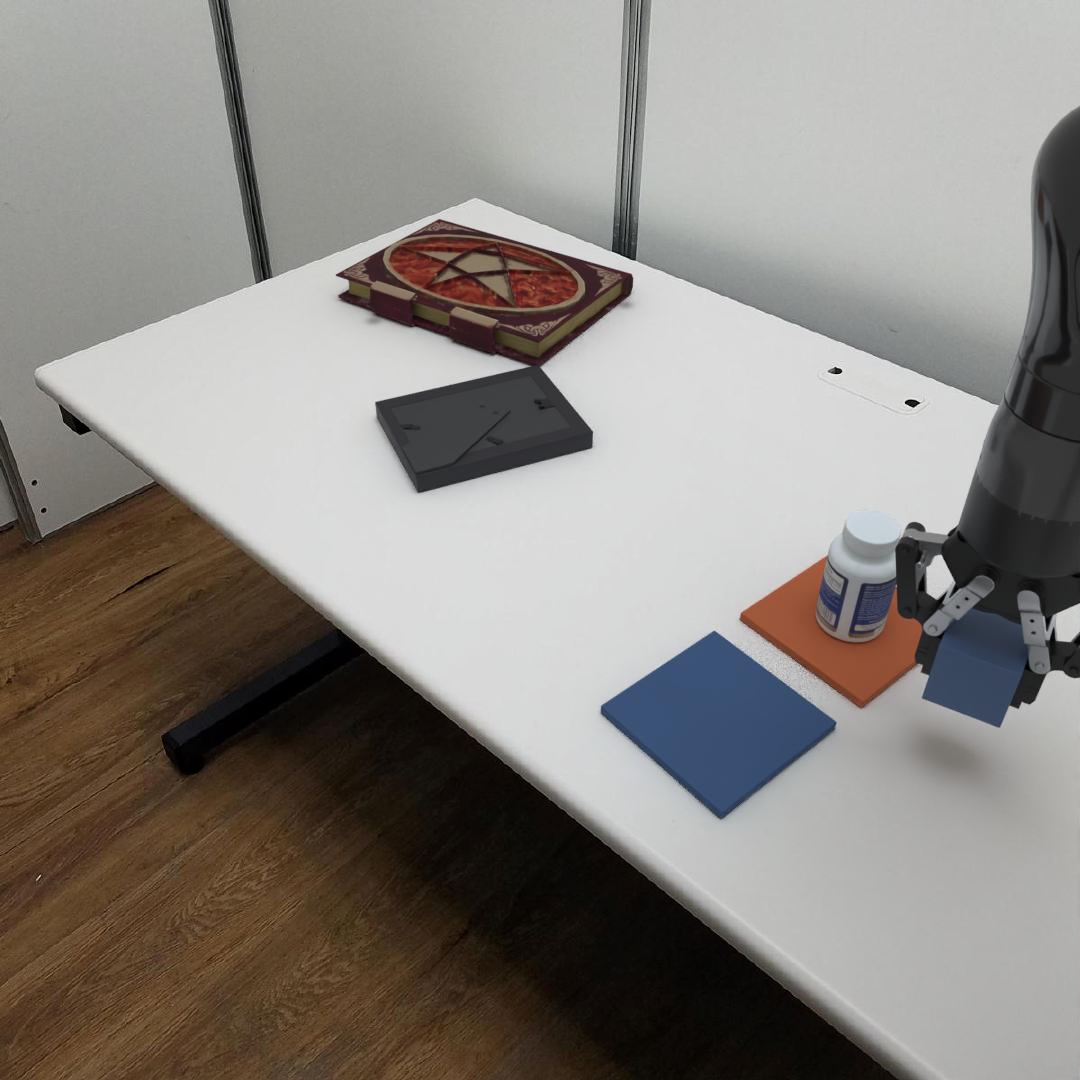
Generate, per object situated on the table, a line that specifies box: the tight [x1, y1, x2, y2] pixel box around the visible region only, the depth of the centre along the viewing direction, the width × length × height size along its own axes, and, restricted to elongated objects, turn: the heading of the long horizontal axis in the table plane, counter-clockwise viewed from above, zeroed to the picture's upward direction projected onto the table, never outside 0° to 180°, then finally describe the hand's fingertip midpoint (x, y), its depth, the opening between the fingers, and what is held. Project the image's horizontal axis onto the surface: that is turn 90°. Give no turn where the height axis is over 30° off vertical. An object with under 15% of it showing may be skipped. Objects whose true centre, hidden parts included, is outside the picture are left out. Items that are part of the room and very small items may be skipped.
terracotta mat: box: [739, 554, 922, 709], centre depth 84 cm, size 12×12×1 cm
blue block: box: [921, 608, 1028, 729], centre depth 69 cm, size 5×5×5 cm
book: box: [335, 218, 634, 366], centre depth 125 cm, size 28×21×5 cm
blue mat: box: [600, 630, 838, 820], centre depth 77 cm, size 12×12×1 cm
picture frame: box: [374, 365, 594, 493], centre depth 104 cm, size 13×2×18 cm
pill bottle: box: [816, 509, 902, 642], centre depth 81 cm, size 5×5×10 cm
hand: (972, 681), depth 70 cm, fingers closed on blue block, 5 cm apart
